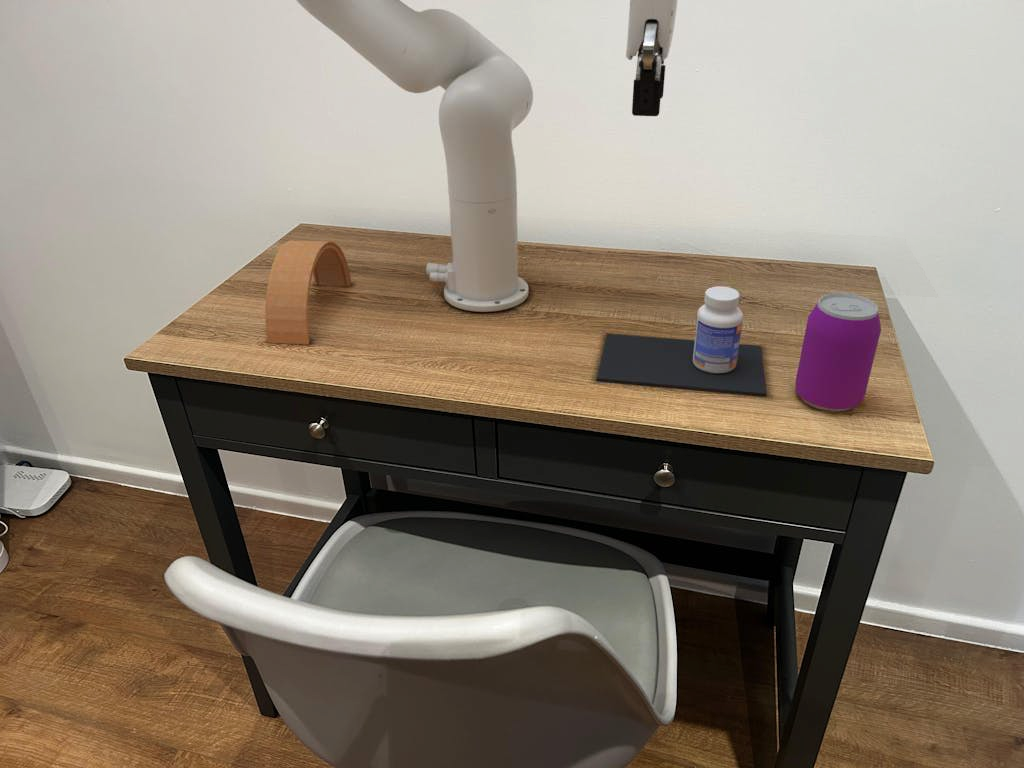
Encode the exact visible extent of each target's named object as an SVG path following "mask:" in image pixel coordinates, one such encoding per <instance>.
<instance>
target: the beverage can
mask: <svg viewBox="0 0 1024 768" xmlns="http://www.w3.org/2000/svg"><path fill="white" fill-rule="evenodd" d="M881 332H882V326H881V321H880V313H879V306H878V305H877V304H876V302H874V301H872V299H869V298H867V297H865V296H862V295H858V294H854V293H849V292H847V293H846V292H833V293H827V294H825V295H824V294H823V295H822V296H821V297H820V298H818V301H817V302H816V303H815V306H814V307H813V308H812V310H811V311H810V313H809V315H808V316H807V319H806V326H805V331H804V334H803V335H804V336H803V340H802V346H801V351H800V356H799V362H798V367H797V370H796V371H797V372H796V378H795V387H794V388H795V389H794V390H795V392H796V394H797V395H798V397H800V398H801V400H802V401H804V403H806V404H807V405H809V406H810V407H812V408H815V409H818V410H821V411H824V412H825V411H826V412H833V413H834V412H836V413H839V412H840V413H841V412H845V411H849V410H851V409H853V408H856V407H858V406H859V405H861V403H862V402H863V400H864V398H865V397H866V392H867V389H868V384H869V380H870V376H871V372H872V368H873V364H874V360H875V357H876V352H877V349H878V344H879V340H880V337H881Z"/></svg>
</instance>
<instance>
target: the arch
mask: <svg viewBox="0 0 1024 768" xmlns="http://www.w3.org/2000/svg"><path fill="white" fill-rule="evenodd" d="M269 271H270V272H269V275H268V280H267V287H266V292H265V293H266V294H265V310H264V311H265V312H264V313H265V319H264V320H265V332H266V337H267V343H268V344H286V345H287V344H289V345H310V343H311V339H310V338H311V337H310V332H309V299H310V298H309V296H310V290H311V284H312V279H314V285H315V286H325V287H327V286H329V287H351V285H352V277H351V272H350V267H349V264H348V261H347V258H346V255H345V253H344V251H343V250H342V247H340V245H339V244H338V243H336V242H334V241H321V240H320V241H319V240H292V239H291V240H289V241H286V242H285V243H284V244H282V245H281V247H280V248H279V250H278V251H277V253H276V255H275V257H274V259H273V262H272V265H271V267H270V270H269Z"/></svg>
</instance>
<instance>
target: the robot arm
mask: <svg viewBox="0 0 1024 768" xmlns="http://www.w3.org/2000/svg"><path fill="white" fill-rule="evenodd" d="M295 1H296V2H297V3H298V4H299V5H300V7H302V8H303V9H304V10H305V11H306V12H308V14H309V15H311V17H313V18H314V19H316V20H317V21H318V22H320V23H321V24H322V25H324V27H326V28H327V29H329V30H330V31H331V32H333V33H334V34H335V35H336V36H338V37H339V38H340V39H341V40H342V41H344V42H345V43H346V44H347V45H349V46H350V48H352V49H353V50H354V51H355V52H357V53H358V54H359V55H360V56H361V57H362V58H364V59H365V60H366V61H367V62H369V63H370V64H371V65H372V66H373V67H375V68H376V69H377V70H378V71H380V72H381V73H382V74H383V75H384V76H385V77H387V78H388V79H389V80H390V81H391V82H393V83H394V84H395V85H396V86H397V87H399V88H401V89H403V90H404V91H405V92H409V93H413V94H423V93H427V92H429V91H432V90H434V89H437V87H440V88H442V89H443V90H444V93H443V95H442V97H441V100H440V103H439V108H438V125H439V132H440V137H441V142H442V146H443V152H444V158H445V164H446V165H445V166H446V175H447V176H446V177H447V191H448V201H449V203H448V204H449V206H448V207H449V218H450V219H449V223H450V239H451V240H450V241H451V255H452V256H451V257H452V262H448V263H447V264H440V263H431V262H428V263H427V264H426V269H425V270H426V271H425V272H426V273H425V274H426V276H428V277H429V281H430V282H435V283H436V282H437V283H440V282H442V283H445V285H444V287H443V297H444V300H445V301H446V302H447V303H448V304H449V305H451V306H452V307H455V308H457V309H460V310H463V311H469V312H476V313H492V312H501V311H505V310H508V309H512V308H514V307H516V306H517V307H518V306H519V305H521V304H522V303H523V302H524V301H525V300H527V298H528V297H529V288H530V287H529V285H528V283H527V281H526V280H524V278H522V277H520V276H519V253H518V252H519V249H518V248H519V247H518V242H519V240H518V187H517V182H518V181H517V179H518V178H517V166H516V158H515V152H514V151H515V150H514V145H513V135H512V134H513V131H514V130H515V129H516V128H517V127H518V126H519V125H520V124H521V123H522V122H523V121H524V120H525V119H526V118H527V117H528V115H529V113H530V111H531V109H532V106H533V103H534V102H533V101H534V91H533V85H532V82H531V80H530V78H529V77H528V74H527V73H526V71H525V70H524V69H523V68H522V67H521V66H520V65H519V64H518V63H517V62H516V61H515V60H514V59H513V58H511V56H509V55H508V54H507V53H506V52H504V50H502V49H501V48H500V47H498V46H497V45H496V44H495V43H493V42H492V41H491V40H490V39H489V38H487V37H486V36H485V35H484V34H482V33H481V32H480V31H479V30H478V29H476V28H475V27H474V26H473V25H471V23H469V22H468V21H467V20H465V19H464V18H462V17H461V16H460V15H457V14H455V13H454V12H451V11H449V10H446V9H442V8H429V9H425V10H421V11H416V10H415V9H413V8H411V7H410V6H408V5H407V4H406V3H404V2H402V0H295ZM677 8H678V0H629V10H628V26H627V28H628V29H627V38H626V39H627V41H626V52H625V57H626V59H627V60H629V61H632V60H633V58H634V57H637V61H636V68H635V69H636V70H635V79H633V87H632V89H633V90H632V104H631V105H632V106H631V114H632V115H633V116H634V117H658V116H659V115H660V109H661V100H662V99H663V97H664V91H665V87H664V86H665V79H666V78H665V75H666V64H665V60H666V59H667V58H668V57H669V53H670V50H671V46H672V41H673V37H674V30H675V24H676V15H677Z"/></svg>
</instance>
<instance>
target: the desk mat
mask: <svg viewBox="0 0 1024 768" xmlns="http://www.w3.org/2000/svg"><path fill="white" fill-rule="evenodd" d="M694 344H695V339H680V338H669V337H657V336H644V335H632V334H631V335H630V334H618V333H606V336H605V340H604V345H603V348H602V349H603V350H602V354H601V356H600V357H601V358H600V362H599V365H598V366H599V367H598V371H597V375H596V381H597V382H606V383H615V384H616V383H617V384H628V385H637V386H638V385H639V386H647V387H648V386H650V387H660V388H671V389H673V388H674V389H680V390H681V389H682V390H692V391H705V392H715V393H727V394H737V395H746V396H747V395H749V396H759V397H767V387H766V386H767V385H766V379H765V370H764V369H765V368H764V361H763V354H762V346H761V345H756V344H745V343H739V351H738V358H737V364H736V367H735V368H734V369H733V370H732V371H730V372H727V373H720V374H718V373H709V372H705V371H703V370H700V369H698V368H697V367H696V366H695V365H694V363H693V353H694Z"/></svg>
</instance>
